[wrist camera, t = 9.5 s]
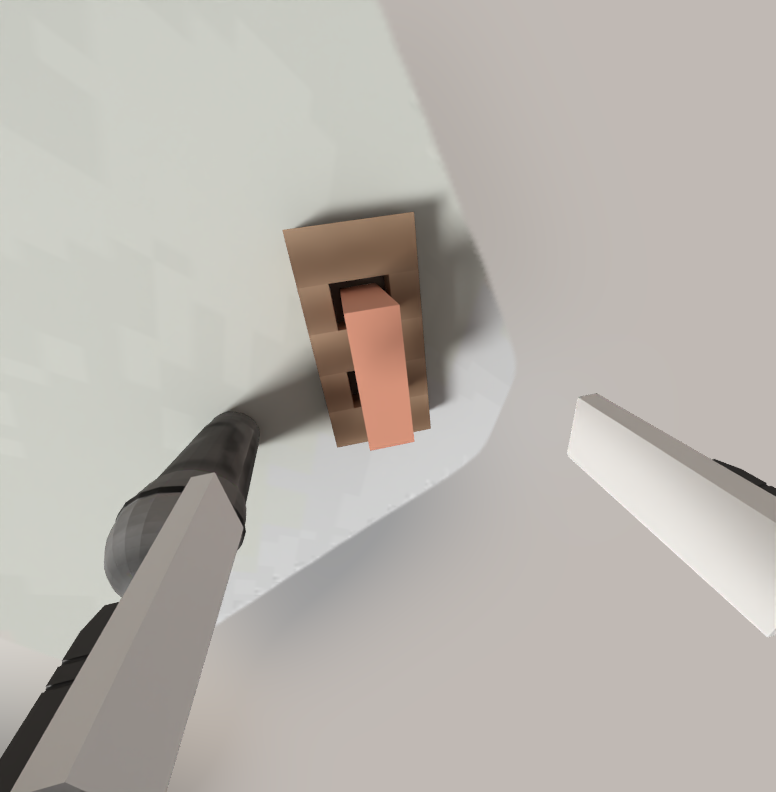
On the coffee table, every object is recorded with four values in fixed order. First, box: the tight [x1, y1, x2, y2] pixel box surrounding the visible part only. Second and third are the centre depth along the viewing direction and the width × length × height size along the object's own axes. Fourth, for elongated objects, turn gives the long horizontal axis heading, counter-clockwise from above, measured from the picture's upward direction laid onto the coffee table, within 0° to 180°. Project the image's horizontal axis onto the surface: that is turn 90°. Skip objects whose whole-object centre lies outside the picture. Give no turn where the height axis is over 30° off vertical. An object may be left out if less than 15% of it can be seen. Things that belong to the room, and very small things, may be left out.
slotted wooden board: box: [283, 212, 431, 447], centre depth 26 cm, size 18×9×3 cm, turn 7°
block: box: [340, 283, 414, 451], centre depth 23 cm, size 9×3×10 cm, turn 8°
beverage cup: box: [104, 412, 260, 597], centre depth 21 cm, size 7×7×20 cm
